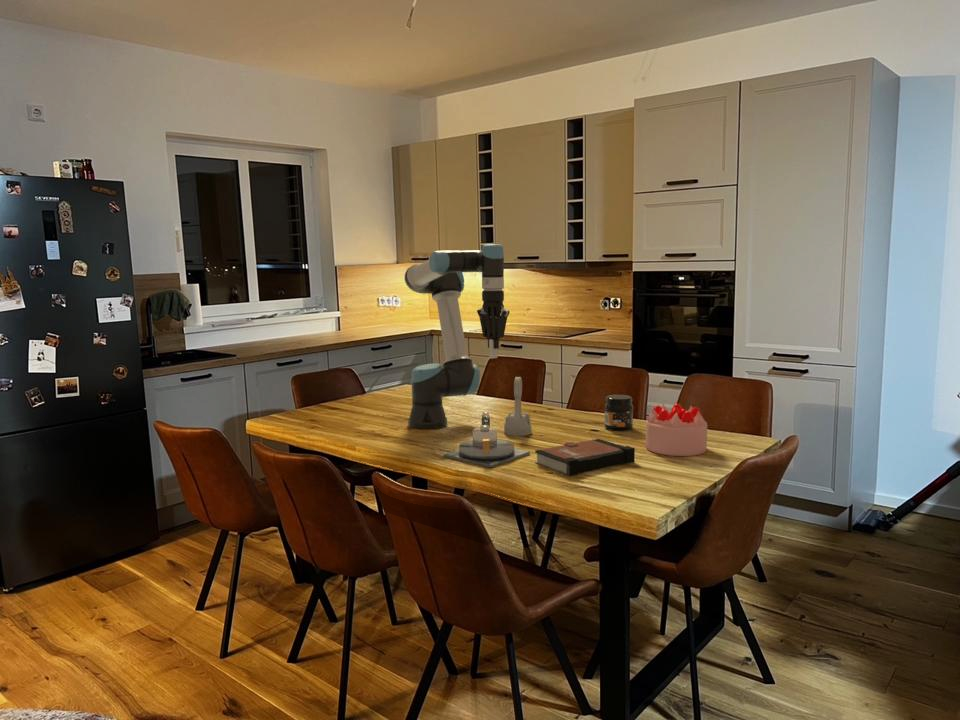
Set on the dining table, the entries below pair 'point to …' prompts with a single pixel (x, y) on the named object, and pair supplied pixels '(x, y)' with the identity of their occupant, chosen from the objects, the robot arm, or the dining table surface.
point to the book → (584, 456)
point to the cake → (676, 431)
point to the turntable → (487, 450)
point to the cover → (484, 436)
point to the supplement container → (618, 413)
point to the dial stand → (485, 419)
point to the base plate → (487, 462)
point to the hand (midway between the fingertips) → (493, 357)
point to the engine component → (517, 415)
